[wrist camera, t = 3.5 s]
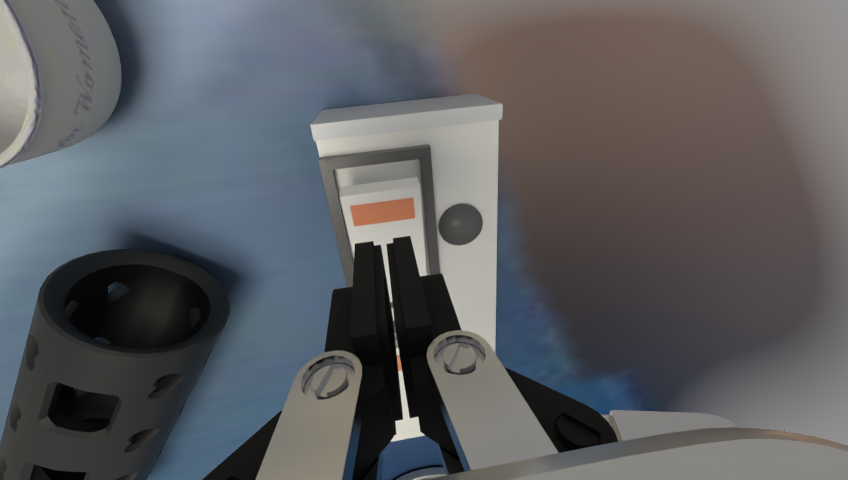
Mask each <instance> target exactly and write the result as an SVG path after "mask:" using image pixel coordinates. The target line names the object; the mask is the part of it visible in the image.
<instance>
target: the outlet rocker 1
mask: <svg viewBox="0 0 848 480" xmlns="http://www.w3.org/2000/svg"><path fill="white" fill-rule="evenodd" d="M340 201H341V205H342V209H343V213H344V217H345V222H346V226H347V230H348V234H349V238H350V243H351V247H352V251H353V255H354V251H355V244H356V243H363V242H370V241H373V242H374V246H375V245H381V249H382V255H383V261H384V267H385V273H386V279H387V285H388V291H389V298H390V302H392V292H391V283H390V273H389V264H388V255H387V245H386V244H389V243H393V238H398V237H405V236H410V237H411V241H412V245H413V249H414V254H415V258H416V262H417V266H418V270H419V275H420V276H426V275H427V273H426V259H425V246H424V232H423V219H422V205H421V191H420V184H419V181H418V178H417V177H414V178H407V179H399V180H391V181H383V182H375V183H367V184H359V185H352V186H344V187H340Z"/></svg>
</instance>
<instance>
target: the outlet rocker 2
mask: <svg viewBox="0 0 848 480" xmlns="http://www.w3.org/2000/svg"><path fill="white" fill-rule="evenodd" d="M395 343H396V353H397V363H398V373H399V383H400V393H401V402H402V412H403V420H398V421H395V423H396V435H394V437H393V439H392V440H391V442H393V441H398V440H403V439H409V438H414V437H419V436H424V434H423V433H422V432H420V425H419V418H418V417H414V418H410V416H409V410H408V404H407V398H406V392H405V386H404V379H403V373H402V367H401V361H400V355H399V348H398V342H397V340H395Z"/></svg>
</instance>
